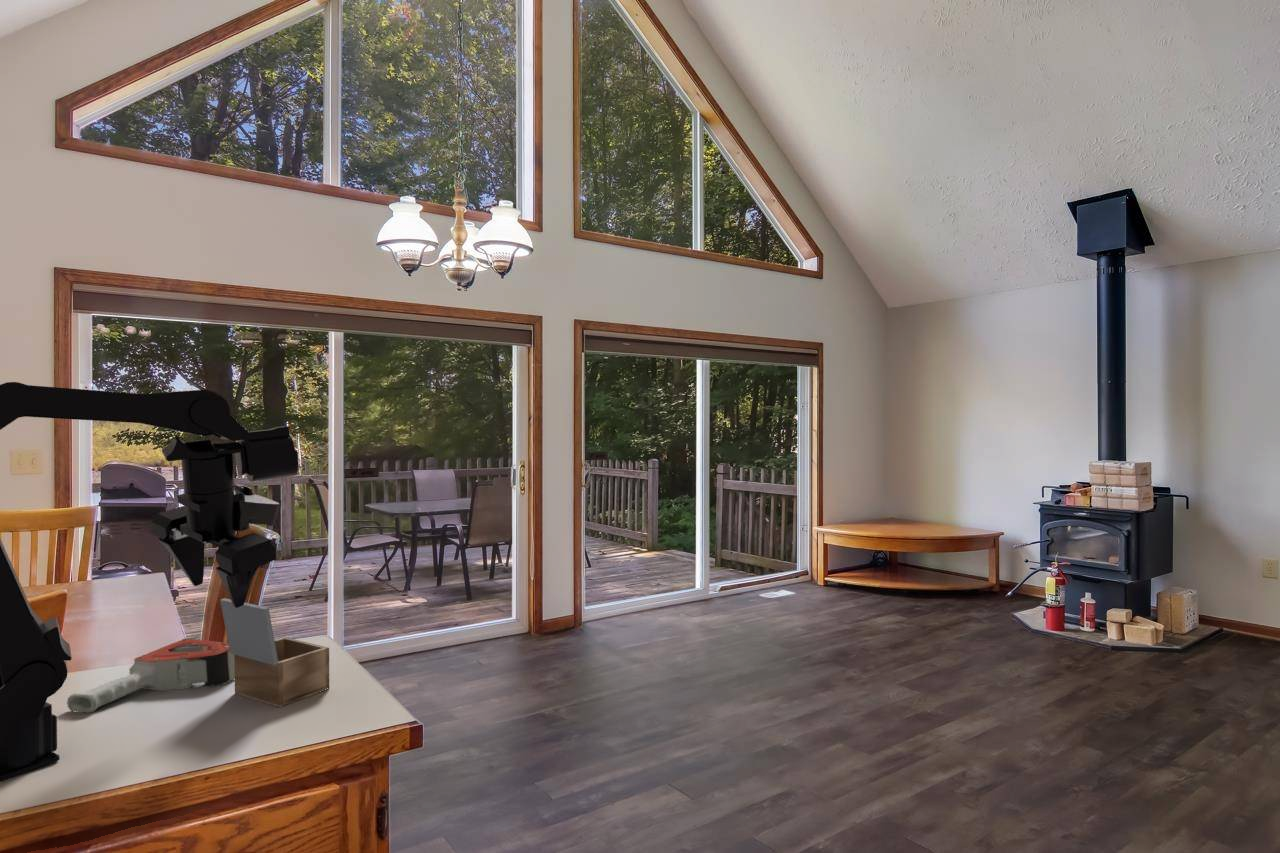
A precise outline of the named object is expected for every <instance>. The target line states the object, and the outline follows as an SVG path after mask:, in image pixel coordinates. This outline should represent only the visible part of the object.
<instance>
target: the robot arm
mask: <svg viewBox="0 0 1280 853" xmlns="http://www.w3.org/2000/svg"><path fill="white" fill-rule="evenodd" d="M230 408H231V407H230V405H229V404H228V401H227V399H225V398H224V397H223V396H222V395H221V394H220V393H219V392H217V391H213V390H209V389H196V390H194V389H193V390H182V391H168V392H154V393H153V392H152V393H135V392H133V393H132V392H122V391H106V390H95V389H81V388H69V387H68V388H67V387H56V386H45V385H43V386H41V385H29V384H25V383H22V382H18V381H9V382H8V381H7V382H4V383H1V384H0V431H1V430H2V429H4V428H5V427H7V426H9V425H10V424H11V423H13V422H15V421H16V420H17V419H19V418H27V417H28V418H42V419H44V418H46V419H59V420H60V419H61V420H76V421H77V420H79V421H97V422H114V423H131V424H133V423H134V424H142V425H147V426H152V427H158V428H162V429H165V430H170V431H171V430H172V431H176V432H180V433H185V434H190V435H195V436H202V437H206V436H214V437H216V438H218V439H221V440H227V441H231V442H224V443H213V442H212V440H211V439H209V438H208V439H201V440H200V439H199V440H198V439H197V440H192V441H191V440H190V441H189V440H188V441H185V440H183V439H181V438H180V436H174V437H173V439H172V440H171V441H170V442H169V443H168V444H167V445H166V446H164V447H163V448H162V449H161V452H162V455H163V456H164V458H165V460H166V461H167V462H174V461H177V462H178V461H180V462H181V471H182V482H183V483H182V484H183V493H180V494H178V495H176V497H177V503H178V504H180V505H182V506H178V507H175V508H171V509H169V510H165V511H162V512H158V513H156V515H155V517H154V518H153V519H152V520H151V531H152V535H153V536H155V537H156V538H158V541H159V543H160V544H162V545H163V546H164V548H165V549H166V550H167V552H168V553H169V555H171V556H172V558H173V559H174V561H175V562H176V563H177V564H178V566H179V567H180V569H181V570H182V571H183V573H184V574H185V575H186V577H187V579H188V580H189V582H190V583H191V584H192V585H193V586H194V587H198V586H201V585H202V584H203V582H204V577H205V576H204V575H205V574H204V573H205V546H206V544H208V543H209V544H211V545H213V546H216V547H217V550H216V551H215V553H214V554H215V561H216V562H217V564H218V566H217V567H216V568H215V570H216V572H217V574H218V576H219V579H220V581H221V583H222V585H223V587H224V588H225V591H226V594H227V596H228V597H229V599H230V600H231V601H232V603H233V605H234V607H236V608H238V607H240V606H243V605H244V603H246V599H247V597H248V593H249V591H250V587H251V584H252V582H253V579H254V577H255V574H256V572H257V571H258V569H259V568H261V567H263V566H266V565H268V564H269V563H270V562H271V563H272V562H273V561H276V560H277V559H278V557H279V555H278V543H277V542H275V541H273V540H272V539H270V538H268V537H265V536H263V535H260V534H258V533H257V532H251V533H248V534H246V535H242V536H238V535H236V532H243V531H246V530H249V529H250V524H251V525H266V526H267V527H274V525H275V522H276V518H277V514H278V511H279V507H280V503H279V502H277V501H275V500H273V499H270V498H267V497H265V496H262V495H258V494H255V493H254V494H253V490H252V488H251V487H249V486H246V485H245V484H244V485H243V484H235V472H234V458H235V465H236V466H235V467H236V469H237V470H236V471H237V473H238V475H239V476H245V475H246V478H247V480H248V481H249V482H250V483H252V482H253V483H254V482H258V481H266V480H274V479H279V478H287V477H294V476H297V474H298V470H299V455H298V450H296V447H295V443H294V440H293V438H292V436H291V434H290V427H289V426H284V425H283V426H276V427H272V428H268V429H261V430H259V429H258V430H251V431H248V430H247V429H246V428H245V427H244V425H242V424H240V422H239V421H237V419H235V418H234V417H233V416H232V415H231V409H230ZM233 454H234V457H233ZM72 658H73V657H72V652H71V646H70V643H69V642H67V641H66V640H65V639H64V638H63V636H62V635H61V631H60V626H59V622H58V617H57V616H54V617H53V616H52V617H51V618H49V619H48V620H46V621H44V622H43V620H42V619H41V618H40V617H39V615H37V613H36V612H35V611H34V610H33V609H32V606H31V604H30V601H29V600H28V598H27V596H26V593H25V590H24V589H23V587H22V585H21V582H20V580H19V578H18V575H17V573H16V570H15V569H14V566H13V564H12V561H11V560H10V557H9V554H8V553H7V550H6V548H5V546H4V544H3V542H2V539H1V538H0V781H2V780H5V779H7V778H8V779H9V778H10V777H13V776H16V775H19V774H23V773H26V772H28V771H29V772H30V771H32V770H34V769H37V768H40V767H43V766H46V765H49V764H52V763H56V762H57V761H59V760H60V755H59V754H58V753H56V751H57V750H58V716H57V715H56V714H53V707H52V704H51V703H50V702H47V700H48V698H50V697H51V696H53V695H55V694H56V693H57V692H58V691H59V690H60V689H61V688H62V686H63V685H64V683H65V682H66V679H67V677H68V666H67V661H72Z"/></svg>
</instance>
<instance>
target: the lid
mask: <svg viewBox="0 0 1280 853" xmlns="http://www.w3.org/2000/svg"><path fill="white" fill-rule="evenodd" d="M220 607H221V611H222V612H221V613H222V616H223V617H222V618H223V623H224V627H225V632H226V638H227V643H228V645H229V650H230V653H231V654H234V655H238V656H242V657H245V658H249V659H253V660H256V661H260V662H264V663H267V664H271V665H276V664H278V658H277V652H276V647H275V641H274V640H275V637H274V636H275V635H274V631H273V625H272V619H271V614H270V613H271V612H270V608H269V607H268V606H262V605H258V604H254V603H253V604H252V603H250V602H249V603H248V602H245V603H244V605H243V606H240V607H238V608H236V607H234V605H233V603H232V601H231V600H230V598H225V597H224V598H221V599H220Z"/></svg>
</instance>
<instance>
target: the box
mask: <svg viewBox="0 0 1280 853" xmlns="http://www.w3.org/2000/svg"><path fill="white" fill-rule="evenodd" d="M274 641H275V647H276V652H277V658H278V664H276V665H271V664H267V663H264V662H260V661H256V660H253V659H249V658H245V657H242V656H238V655H235V680H234V694H235V693H237V694H236V695H238V694H239V696H241V697H245V696H246V697H245V698H249V699H251V698H252V700H254V699H255V701H257V700H258V702H261V701H262V702H261V703H264V702H266V703H265V704H267V703H269V704H268V705H270V704H271V705H270V706H273V705H275V706H274V707H277V708H281V707H284V706H286V705H285V704H287V705H290V704H292V703H294V701H295V702H298V701H300V700H303V699H306V698H308V696H309V697H311V696H314V695H316V693H317V694H319V693H318V692H320V691H322V692H325V691H326V690H325V689H327V688H329V689H330V647H328V646H325V645H320V644H315V643H310V642H308V641H307V642H306V641H302V640H299V639H295V638H290V637H281V638H277V639H274ZM324 690H325V691H324ZM320 693H321V692H320ZM313 694H314V695H313ZM305 697H306V698H305ZM299 699H300V700H299ZM297 700H298V701H297ZM291 702H292V703H291ZM283 705H284V706H283ZM280 706H281V707H280Z"/></svg>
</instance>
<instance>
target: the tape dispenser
mask: <svg viewBox="0 0 1280 853" xmlns="http://www.w3.org/2000/svg"><path fill="white" fill-rule="evenodd" d="M206 647H208V648H210V649H207V650H206ZM133 660H134V662H133V664H132V665H131V666H130V667H129V674H128V675H125V676H122V677H119V678H115V679H113V680H110V681H108V682H106V683H102V684H101V685H100V684H99V685H98V686H95V687H93V688H90V689H88V690H86V691H82V692H77V693H76V692H75V693H72V694H70V695H69V696H68V697H67V701H66V704H67V708H68V709H69V710H70V711H71V712H72V711H76V712H75V713H83V712H87V714H90V712H91V713H93V712H94V711H95V710H97V709H98V708H100V707H101V706H105V705H107V704H110V703H112V702H114V701H116V700H118V699H120V698H121V699H122V698H123V697H125V696H127V695H129V694H132V693H133V692H135V691H138V690H140V689H145V690H151V691H152V690H154V691H166V690H167V691H168V690H181V689H182V690H183V689H188V688H191V687H193V684H195V685H196V684H201V683H204V684H205V685H206V686H208V687H215V686H216V687H217V686H222V685H225V684H226V683H225V682H228V681H230V682H232V681H231V680H233V681H235V680H234V679H235V655H234V654H231V653H230V650H229V645H228V642H221V641H220V642H219V641H213V640H204V639H197V636H188V637H185V638H182V639H181V640H177V641H175V642H172V643H169V644H167V645H165V646H162V647H160V648H157V649H155V650H153V651H150V652H148V653H146V654H143V655H140V656H137V657H136V658H133ZM224 683H225V684H224ZM228 683H229V682H228ZM221 684H222V685H221ZM77 711H78V712H77Z"/></svg>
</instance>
